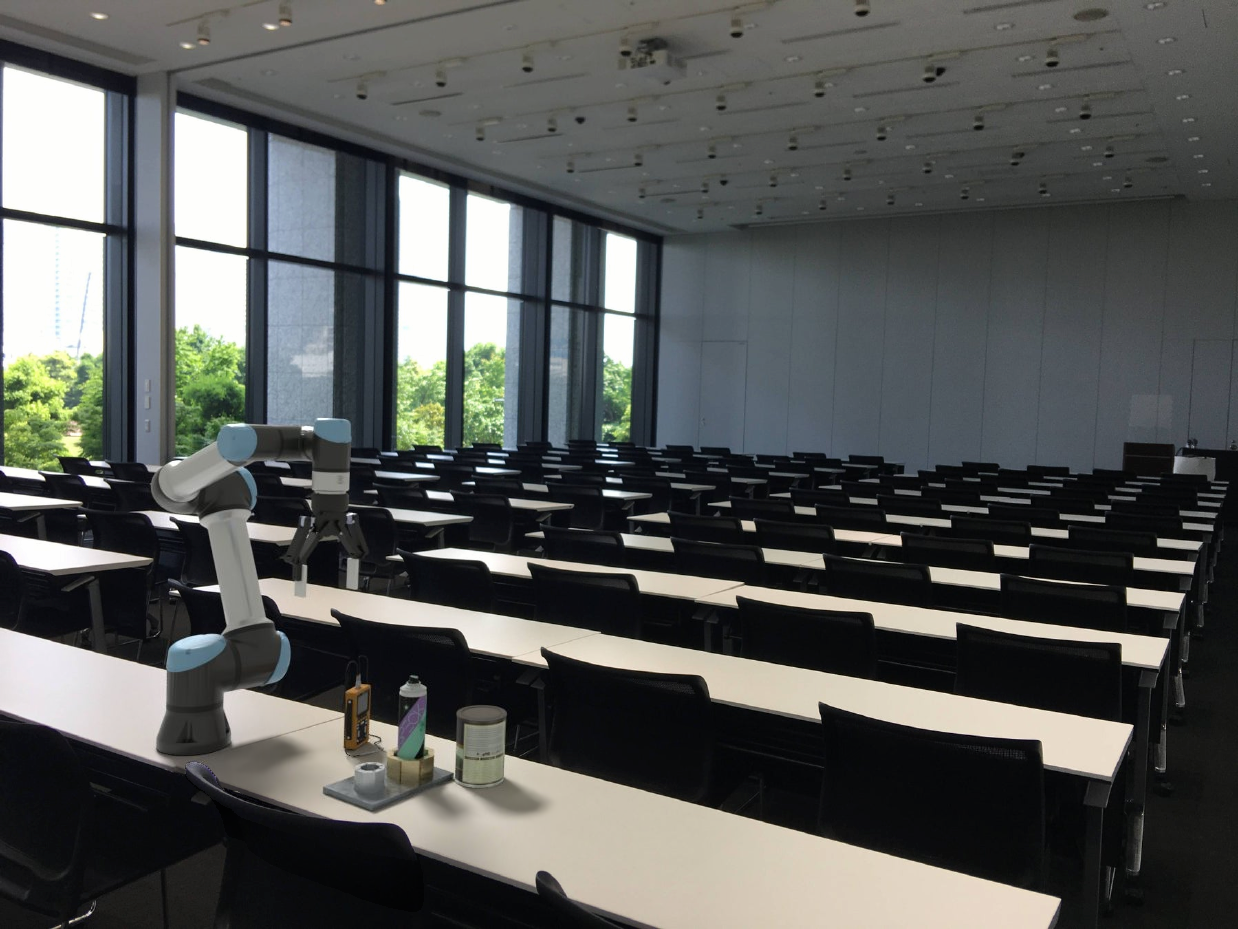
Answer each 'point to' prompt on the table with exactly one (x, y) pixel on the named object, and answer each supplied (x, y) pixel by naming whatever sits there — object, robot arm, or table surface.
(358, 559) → the robot arm
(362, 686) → the multimeter
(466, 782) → the coffee can
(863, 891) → the table surface
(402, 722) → the spray can
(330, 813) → the table surface
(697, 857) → the table surface
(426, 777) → the fitting plate
